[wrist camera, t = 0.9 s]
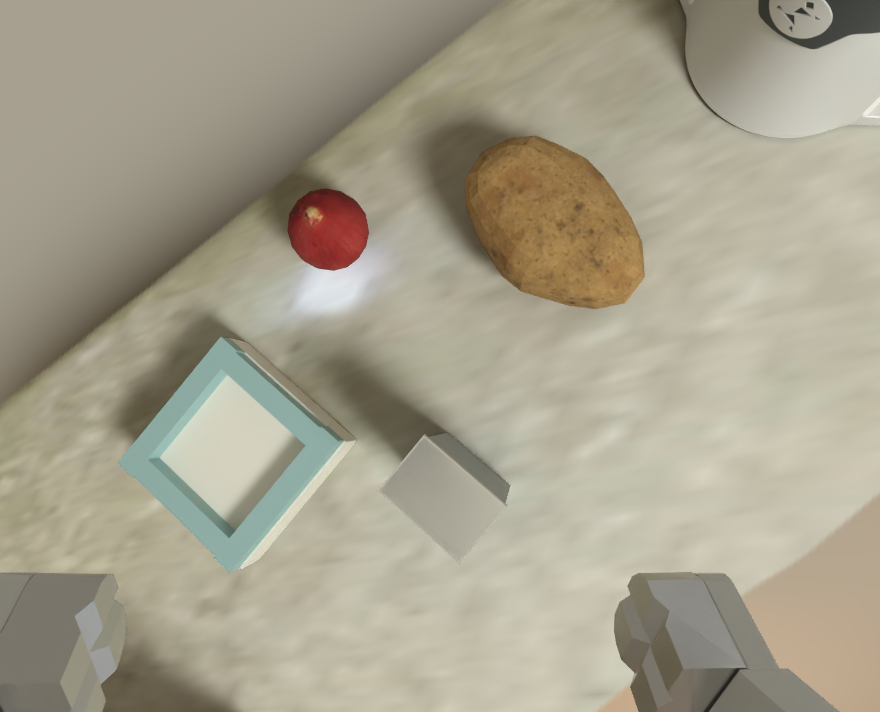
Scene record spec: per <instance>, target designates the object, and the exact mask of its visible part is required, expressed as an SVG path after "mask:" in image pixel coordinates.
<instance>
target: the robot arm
mask: <svg viewBox="0 0 880 712" xmlns="http://www.w3.org/2000/svg"><path fill="white" fill-rule="evenodd" d="M680 2H681V5H682V8H683V10H684V12H685V15H686V20H687V30H686V41H685V55H686V62H687V67H688V71H689V74H690V77H691V79H692V82H693V84H694V86H695V88H696V90H697V91H698V93H699V94H700V96H701V97H702V98H703V100H704V101H705V102H706V103H707V105H708V106H709V107H710V108H711V109H712V110H713V111H714V112H716V113H717V114H718V115H719V116H721V117H722V118H723V119H725V120H726V121H728V122H730V123H731V124H733V125H735V126H737V127H739V128H741V129H743V130H746V131H749V132H752V133H755V134H759V135H763V136H769V137H777V138H797V137H805V136H811V135H815V134H819V133H822V132H825V131H828V130H831V129H835V128H838V127H841V126H845V125H851V124H855V125H880V0H680ZM628 589H629V591H630V594H631V595H630V596H628V597H627V598H625V599H624V600H622V601H621V602H620V603H619V605H618V608H617V610H616V613H615V619H614V633H615V639H616V645H617V648H618V651H619V654H620V657H621V660H622V661H623V662H624V663H625V664H626V665H627V666H628V667H629V668H630V669H631V670H632V671H633V672H634V676H633V679H632V683H631V686H630V688H631V691H632V694H633V696H634V699H635V702H636V705H637V708H638V711H639V712H839V711H838V710H837V709H836V708H835V707H833V706H832V705H831V704H830V703H829V702H827V701H826V700H825V699H824V698H823V697H821V696H820V695H819V694H818V693H817V692H815V691H814V690H813V689H812V688H811V687H810V686H808V685H807V684H806V683H805V682H803V681H802V680H801V679H800V678H799V677H798V676H796V675H795V674H794V673H793V672H791V670H789V669H781V668H779V666H778V665H777V663H776V661H775V659H774V657H773V655H772V653H771V652H770V650H769V648H768V646H767V644H766V642H765V641H764V639H763V637H762V635H761V633H760V631H759V630H758V628H757V626H756V624H755V622H754V620H753V619H752V617H751V615H750V613H749V611H748V609H747V608H746V606H745V604H744V602H743V600H742V598H741V597H740V595H739V593H738V591H737V589H736V587H735V585H734V584H733V582H732V580H731V579H730V578H729V577H728V576H727V575H726V574H723V573H692V572H678V573H638V574H636V575H634V576H632V578H631V580H630V582H629V584H628ZM117 590H118V585H117V582H116V579H115V577H114V574H67V573H0V712H102V711H103V708H104V705H105V702H106V699H105V696H104V693H103V690H102V687H101V684H102V683H103V682H104V681H105V680H106V679H107V678H108V677H109V676H110V675H111V674H112V673H114V672H115V671H116V670H117V667H118V664H119V661H120V658H121V654H122V651H123V647H124V641H125V635H126V613H125V609H124V605H122V604H121V603H119V602H118V601H116V600H115V599H114V598H115V595H116V592H117Z"/></svg>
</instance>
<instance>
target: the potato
mask: <svg viewBox="0 0 880 712" xmlns="http://www.w3.org/2000/svg"><path fill="white" fill-rule="evenodd" d="M465 193H466V206H467V210H468V213H469V215H470V218H471V220H472V223H473V225H474V228H475V230H476V233H477V235H478V237H479V240H480V241H481V243H482V245H483V246H484V248H485V249H486V251H487V253H488V254H489V256H490V258H491V259H492V261H493V262H494V264H495V266H496V267H497V269H498V270H499V272H500V274H501V275H502V276H503V277H504V278H505V279H506V280H508V281H509V282H510V283H511V284H513V285H514V286H515V287H516V288H518V289H519V290H520V291H522V292H525V293H528V294H532V295H535V296H538V297H541V298H545V299H548V300H552V301H555V302H558V303H562V304H565V305H569V306H576V307H584V308H592V309H598V308H603V307H608V306H613V305H618V304H622V303H625V302H626V301H627V300H628V298H629V297H630V296H631V294H632V293H633V292H634V291H635V289H636V288H637V287H638V285H639V284H640V283H641V281H642V280H643V279H644V277H645V274H644V261H643V247H642V241H641V239H640V236H639V234H638V232H637V230H636V227H635V225H634V223H633V220H632V218H631V216H630V215H629V213H628V212H627V210H626V209H625V207H624V206H623V204H622V202H621V201H620V199H619V198H618V196H617V195H616V193H615V192H614V190H613V189H612V187H611V186H610V185H609V183H608V182H607V180H606V179H605V178H604V176H603V175H602V174H601V173H600V172H599V171H598V170H597V169H596V168H595V167H594V166H593V165H592V164H591V163H590V162H589V161H588V160H587V159H586V158H584V157H582V156H580V155H578V154H576V153H574V152H572V151H570V150H568V149H566V148H564V147H562V146H560V145H558V144H555V143H553V142H550V141H548V140H545V139H543V138H540V137H538V136H529V137H521V138H513V139H507V140H505V141H503V142H501V143H499V144H498V145H496V146H494V147H492V148H490V149H488V150H486V151H484V152H483V153H482V154H481V155H480V157H479V158H478V160H477V162H476V163H475V165H474V167H473V168H472V170H471V171H470V173H469V174H468V176H467V178H466V180H465Z"/></svg>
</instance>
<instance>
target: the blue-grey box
mask: <svg viewBox="0 0 880 712" xmlns="http://www.w3.org/2000/svg"><path fill="white" fill-rule="evenodd" d="M509 488H510V485H509V484H508V483H507V482H506V481H504V480H503V479H502V478H501V477H500V476H499V475H497V474H496V473H495V472H494V471H493V470H492V469H490V468H489V467H488V466H487V465H486V464H485V463H483V462H482V461H481V460H480V459H479V458H477V457H476V456H475V455H474V454H473V453H472V452H470V451H469V450H468V449H467V448H466V447H465V446H463V445H462V444H461V443H460V442H459V441H458V440H456V439H455V438H454V437H453V436H452V435H451V434H449V433H444V434H439V435H434V436H429V437H428V436H426V435H423V437H422V438H421V439H420V440H419V441H418V443H417V444H416V445H415V446H414V447H413V449H412V450H411V451H410V452H409V454H408V455H407V456H406V457H405V458H404V460H403V461H402V462H401V463H400V464H399V466H398V467H397V468H396V469H395V470H394V472H393V473H392V474H391V475H390V476H389V478H388V479H387V480H386V481H385V483H384V484H383V485H382V486H381V487H380V489H379V490H378V491H379V492H380V493H381V494H382V495H383V496H384V497H385V498H387V499H388V500H389V501H390V502H391V503H392V504H393V505H394V506H395V507H397V508H398V509H399V510H400V511H401V512H402V513H403V514H404V515H405V516H407V517H408V518H409V519H410V520H411V521H412V522H413V523H414V524H415V525H417V526H418V527H419V528H420V529H421V530H422V531H423V532H424V533H425V534H427V535H428V536H429V537H430V538H431V539H432V540H433V541H434V542H436V543H437V544H438V545H439V546H440V547H441V548H442V549H443V550H444V551H446V552H447V553H448V554H449V555H450V556H451V557H452V558H453V559H454V560H456V561H457V562H458V563H459V564H460V562H461V561H462V560H463V559H464V558H465V556H466V555H467V554H468V553H469V552H470V550H471V549H472V548H473V547H474V546H475V544H476V543H477V542H478V541H479V540H480V538H481V537H482V536H483V535H484V534H485V532H486V531H487V530H488V529H489V528H490V526H491V525H492V524H493V523H494V522H495V520H496V519H497V518H498V517H499V516H500V514H501V513H502V512H503V511H504V510H505V508H506V507H507V505H506V504H505V503H506V499H507V496H508V492H509Z"/></svg>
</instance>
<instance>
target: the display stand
mask: <svg viewBox="0 0 880 712" xmlns="http://www.w3.org/2000/svg"><path fill="white" fill-rule="evenodd" d="M356 441H357V440H356V439H355V438H354V437H353V436H352V435H351V434H350V433H349V432H347V431H346V430H345V429H344V428H343V427H342V426H341V425H339V424H338V423H337V422H336V421H335V420H334V419H333V418H332V417H330V416H329V415H328V414H327V413H326V412H325V411H324V410H323V409H321V408H320V407H319V406H318V405H317V404H316V403H315V402H314V401H312V400H311V399H310V398H309V397H308V396H307V395H306V394H305V393H303V392H302V391H301V390H300V389H299V388H298V387H297V386H296V385H294V384H293V383H292V382H291V381H290V380H289V379H288V378H287V377H285V376H284V375H283V374H282V373H281V372H280V371H279V370H278V369H276V368H275V367H274V366H273V365H272V364H271V363H270V362H268V361H267V360H266V359H265V358H264V357H263V356H262V355H261V354H259V353H258V352H257V351H256V350H255V349H254V348H253V347H252V346H250V345H249V344H248V343H247V342H243V341H240V340H236V339H232V338H225V337H220V338H219V339H218V341H217V342H216V343H215V344H214V346H213V347H212V348H211V349H210V350H209V352H208V353H207V354H206V355H205V357H204V358H203V359H202V360H201V361H200V363H199V364H198V365H197V366H196V368H195V369H194V370H193V371H192V372H191V374H190V375H189V376H188V377H187V379H186V380H185V381H184V382H183V384H182V385H181V386H180V387H179V388H178V390H177V391H176V392H175V393H174V395H173V396H172V397H171V398H170V399H169V401H168V402H167V403H166V404H165V406H164V407H163V408H162V409H161V410H160V412H159V413H158V414H157V415H156V417H155V418H154V419H153V420H152V421H151V423H150V424H149V425H148V426H147V428H146V429H145V430H144V431H143V432H142V434H141V435H140V436H139V437H138V439H137V440H136V441H135V442H134V443H133V445H132V446H131V447H130V448H129V450H128V451H127V452H126V453H125V454H124V456H123V457H122V458H121V459H120V461H119V462H118V464H119V465H120V466H121V467H122V468H123V469H124V470H125V471H126V472H127V473H128V474H129V475H130V476H131V477H135V478H136V479H137V480H138V481H139V482H140V483H141V484H142V485H143V486H144V487H145V488H146V489H147V490H148V491H149V492H150V493H151V494H152V495H154V496H155V497H156V498H157V499H158V500H159V501H160V502H161V503H162V504H163V505H164V506H165V507H166V508H167V509H168V510H169V511H170V512H171V513H172V514H173V515H174V516H175V517H176V518H177V519H178V520H179V521H180V522H181V523H182V524H183V525H184V526H185V527H186V528H187V529H188V530H189V531H190V532H191V533H192V534H193V535H194V536H195V537H196V538H197V539H198V540H199V541H200V542H201V543H202V544H203V545H204V546H205V547H206V548H207V549H209V550H210V551H211V552H212V553H213V554H214V555H215V556H214V558H215V559H216V560H217V561H218V562H219V563H220V564H221V565H222V566H223V567H224V568H225V569H226V570H227V571H228V572H229V573H231V572H233V571H234V570H236V569H238V568H240V569H242V568H244V567H246V566H248V565H250V564H252V563H254V562H256V561H258V560H259V559H260V558H261V556H262V555H263V554H264V553H265V552H266V550H267V549H268V548H269V547H270V545H271V544H272V543H273V542H274V541H275V539H276V538H277V537H278V536H279V535H280V533H281V532H282V531H283V530H284V529H285V527H286V526H287V525H288V524H289V522H290V521H291V520H292V519H293V518H294V516H295V515H296V514H297V513H298V512H299V510H300V509H301V508H302V507H303V505H304V504H305V503H306V502H307V501H308V499H309V498H310V497H311V496H312V495H313V493H314V492H315V491H316V490H317V489H318V487H319V486H320V485H321V484H322V482H323V481H324V480H325V479H326V478H327V476H328V475H329V474H330V473H331V472H332V470H333V469H334V468H335V467H336V466H337V464H338V463H339V462H340V461H341V459H342V458H343V457H344V456H345V455H346V453H347V452H348V451H349V450H350V449H351V447H352V446H353V445H354V444H355V442H356Z"/></svg>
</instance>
